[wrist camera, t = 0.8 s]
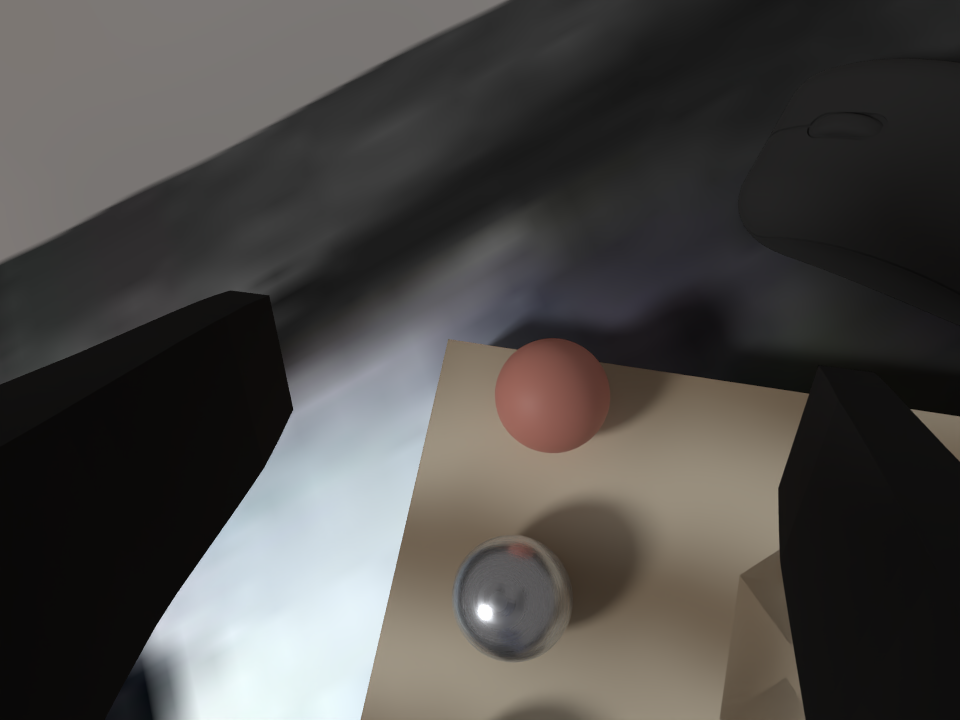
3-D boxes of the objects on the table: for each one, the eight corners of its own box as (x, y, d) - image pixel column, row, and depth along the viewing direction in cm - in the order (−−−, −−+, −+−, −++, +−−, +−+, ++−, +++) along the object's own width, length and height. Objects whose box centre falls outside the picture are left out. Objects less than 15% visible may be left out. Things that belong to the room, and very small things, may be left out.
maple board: (1148, 1064, 16) (1226, 1152, 14) (375, 780, 22) (340, 808, 20) (1166, 468, 19) (1235, 458, 17) (469, 358, 25) (448, 339, 23)
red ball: (604, 468, 20) (591, 456, 17) (499, 448, 21) (470, 433, 18) (623, 362, 21) (614, 333, 18) (520, 347, 22) (495, 316, 19)
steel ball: (568, 666, 19) (548, 689, 16) (459, 635, 20) (422, 651, 17) (589, 548, 20) (574, 550, 17) (483, 524, 21) (450, 521, 18)
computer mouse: (807, 79, 25) (830, -4, 21) (1185, 200, 21) (1297, 125, 17) (720, 232, 24) (727, 176, 20) (1090, 386, 20) (1184, 351, 16)
